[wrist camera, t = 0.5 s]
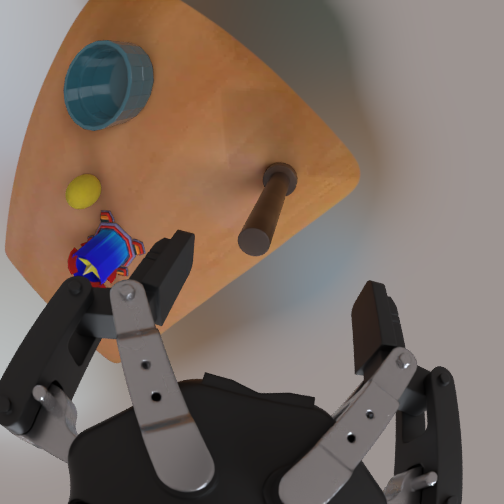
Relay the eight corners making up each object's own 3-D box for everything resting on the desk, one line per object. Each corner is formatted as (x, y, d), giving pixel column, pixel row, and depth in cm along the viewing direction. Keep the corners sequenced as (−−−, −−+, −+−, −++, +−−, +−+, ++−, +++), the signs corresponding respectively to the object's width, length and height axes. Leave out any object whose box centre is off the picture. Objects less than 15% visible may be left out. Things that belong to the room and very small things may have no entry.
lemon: (114, 181, 43) (83, 200, 36) (102, 203, 46) (74, 223, 39) (93, 161, 42) (62, 177, 35) (83, 184, 45) (54, 201, 38)
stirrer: (270, 157, 36) (234, 209, 22) (301, 168, 36) (288, 229, 21) (260, 187, 39) (221, 254, 24) (291, 197, 38) (271, 272, 24)
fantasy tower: (85, 241, 52) (48, 274, 42) (104, 205, 46) (60, 237, 36) (124, 279, 55) (93, 318, 45) (149, 248, 49) (112, 289, 39)
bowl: (97, 43, 30) (71, 42, 25) (164, 44, 30) (141, 40, 25) (85, 117, 38) (60, 124, 33) (146, 129, 37) (123, 137, 32)
